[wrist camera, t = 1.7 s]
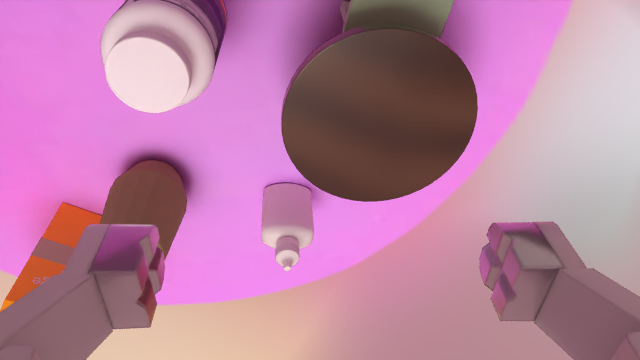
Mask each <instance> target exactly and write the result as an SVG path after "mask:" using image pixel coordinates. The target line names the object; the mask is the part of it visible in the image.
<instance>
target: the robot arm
mask: <svg viewBox="0 0 640 360" xmlns="http://www.w3.org/2000/svg"><path fill="white" fill-rule="evenodd" d="M487 237H488V239H489V241H490V242H489V243H488V244H487V245H486V246H484V247H483V248H482V252H481V255H480V273H481V277H482V280H483V282H484V285H485V286H487V287H488V288H490V289H491V290H492V291H493V294H492V297H491V301H492V303H493V305H494V308H495V310H496V312H497V315H498V317H499V319H500V321H535V322H534V323H535V324H536V325H537V326H538V327H539V328H540V329H541V330H542V331H544V332H545V333H546V334H547V335H548V336H549V337H550V338H551V339H552V340H553V341H555V343H557V344H558V345H559V346H560V347H561V348H562V349H563V350H564V351H565V352H566V353H567V354H569V355H570V356H571V357H572V358H573V359H574V360H640V297H639V296H637V295H636V294H634V293H632V292H631V291H629V290H627V289H626V288H624V287H622V286H621V285H619V284H618V283H616V282H615V281H613V280H611V279H610V278H608V277H606V276H605V275H603V274H601V273H600V272H598V271H597V270H595V269H587V267H586V266H585V265H584V263H583V262H582V260H581V259H580V257H579V256H578V254H577V253H576V251H575V250H574V249H573V247H572V245H571V244H570V243H569V241H568V240H567V238H566V237H565V235H564V234H563V232H562V231H561V230H560V228H559V227H558V225H557V224H555V223H554V222H532V223H529V222H528V223H492V225H491V226H490V227H489V230H488V233H487ZM159 238H160V236H159V232H158V228H157V226H155V225H144V224H112V225H111V224H90V225H89V226H87V227H86V228H85V230H84V232H83V234H82V236H81V238H80V239H79V241H78V243H77V245H76V247H75V249H74V251H73V253H72V255H71V257H70V259H69V261H68V263H67V265H66V267H65V269H64V271H63V273H62V275H54V276H52V277H51V278H49V279H48V280H47V281H45V282H44V283H42V284H41V285H39V286H38V287H36V288H35V289H33V290H32V291H30V292H29V293H28V294H26V295H25V296H23V297H22V298H20V299H19V300H17V301H16V302H14V303H13V304H11V305H10V306H9V307H7V308H6V309H4V310H3V311H1V312H0V360H86V359H87V358H88V357H89V355H90V354H91V353H92V352H93V351H94V350H95V349H96V348H97V347H98V346H99V345H100V344H101V343H102V342H103V341H104V340H105V339H106V338H107V337H108V336H109V335H110V333H112V332H113V330H112V329H125V328H126V329H127V328H148V327H151V323H152V320H153V316H154V313H155V309H156V306H157V302H156V298H155V294H156V293H157V292H158V291H160V290H161V288H162V284H163V280H164V270H165V265H164V255H163V251H162V250H161V249H160V248H159V247H158V246H157V245H158V241H159Z"/></svg>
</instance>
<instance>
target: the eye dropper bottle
mask: <svg viewBox="0 0 640 360" xmlns="http://www.w3.org/2000/svg"><path fill="white" fill-rule="evenodd" d="M313 232H314V228H313V210H312V196H311V191H310V190H309V189H308V188H306V187H304V186H301V185H297V184H291V183H280V184H274V185H270V186H267V187H266V188H265V189H264V192H263V207H262V224H261V239H262V242H263V243H264V244H266V245H268V246H270V247H272V248H275V249H276V253H275V259H276V262H277V263H278V264H280V265H281V266H283V267H284V270H285V271H290V270H291V267H292V266H293V265H295V264H296V263H297V262H298V261H299V249H301V248H304V247H306V246H308V245H310V244H311V243H312V240H313Z"/></svg>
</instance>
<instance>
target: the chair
mask: <svg viewBox="0 0 640 360" xmlns="http://www.w3.org/2000/svg"><path fill="white" fill-rule="evenodd" d="M453 3H454V0H350V2H348V1H343V0H342V2H341V6H340V12H341V16H342V19H343V23H344V26H343V29H342V33H343V32H346V31H348V30H351V29H354V28H357V27H362V26H366V25H372V24H380V23H393V24H402V25H409V26H413V27H416V28H419V29H423V30H425V31H427V32H429V33H431V34H433V35H435V36H437V37H438V38H440V37H441V34H442V31H443V29H444V26H445V24H446V21H447V18H448V16H449V13H450V11H451V8H452V5H453Z"/></svg>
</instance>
